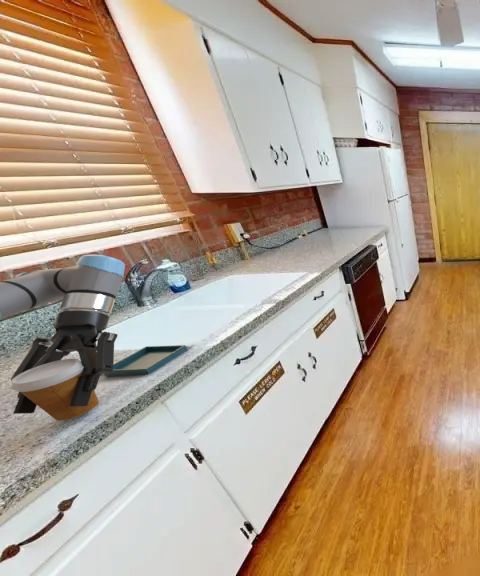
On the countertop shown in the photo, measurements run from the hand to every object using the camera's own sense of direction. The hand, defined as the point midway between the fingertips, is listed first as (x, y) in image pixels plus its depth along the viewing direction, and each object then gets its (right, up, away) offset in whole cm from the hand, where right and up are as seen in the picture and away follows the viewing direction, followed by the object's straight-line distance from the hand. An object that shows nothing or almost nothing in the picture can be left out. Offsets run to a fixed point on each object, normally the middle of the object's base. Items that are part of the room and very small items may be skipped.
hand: (51, 409), depth 66 cm
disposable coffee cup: (-1, -2, +5) cm, 5 cm away
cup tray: (-8, +5, +24) cm, 25 cm away
